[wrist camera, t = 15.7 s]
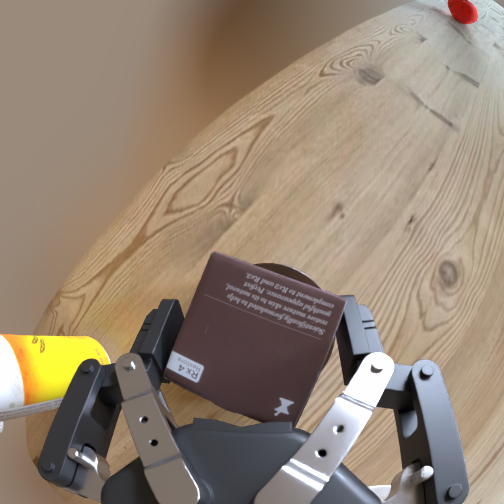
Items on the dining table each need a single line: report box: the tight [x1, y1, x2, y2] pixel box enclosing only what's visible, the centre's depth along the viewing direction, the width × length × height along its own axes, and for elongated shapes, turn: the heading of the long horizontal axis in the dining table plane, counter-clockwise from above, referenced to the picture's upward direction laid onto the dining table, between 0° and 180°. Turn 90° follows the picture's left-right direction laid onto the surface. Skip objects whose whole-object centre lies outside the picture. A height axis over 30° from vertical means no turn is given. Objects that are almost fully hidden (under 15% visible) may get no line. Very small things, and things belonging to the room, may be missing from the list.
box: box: [163, 251, 347, 428], centre depth 14 cm, size 6×6×7 cm
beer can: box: [0, 334, 111, 421], centre depth 15 cm, size 6×6×15 cm
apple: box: [448, 0, 478, 24], centre depth 27 cm, size 8×8×7 cm
